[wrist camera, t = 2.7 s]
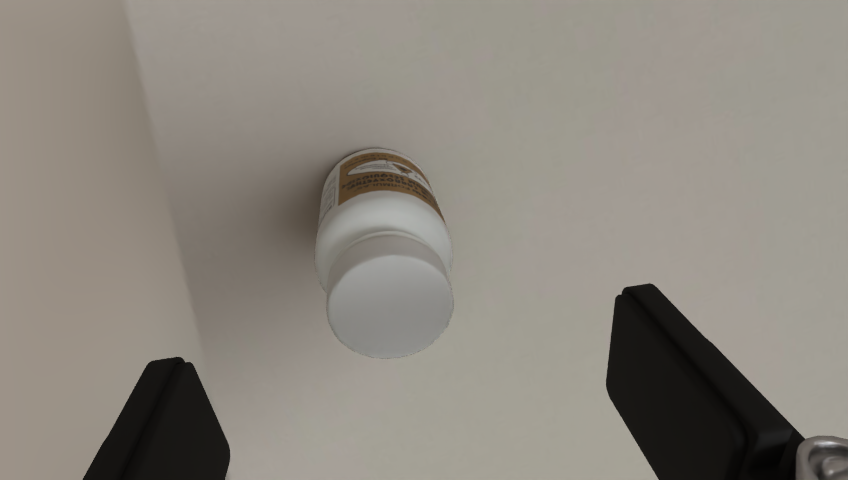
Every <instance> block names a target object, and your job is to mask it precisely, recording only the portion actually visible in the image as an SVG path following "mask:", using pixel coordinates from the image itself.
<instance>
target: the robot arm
mask: <svg viewBox="0 0 848 480" xmlns="http://www.w3.org/2000/svg"><path fill="white" fill-rule="evenodd" d="M606 387H607V391H608V394H609V397H610V399H611V401H612V402H613V404H614V406H615V407H616V409H617V411H618V412H619V414H620V416H621V417H622V419H623V421H624V422H625V424H626V426H627V427H628V429H629V431H630V432H631V434H632V436H633V437H634V439H635V441H636V442H637V444H638V446H639V447H640V449H641V451H642V452H643V454H644V456H645V457H646V459H647V461H648V462H649V464H650V466H651V467H652V469H653V471H654V472H655V474H656V476H657V477H658V479H659V480H848V440H847V439H843V438H839V437H834V436H815V437H811V438H807V439H805V438H804V437H803V436H802V435H801V434H800V433H799V432H798V431H797V430H796V429H795V428H794V427H793V426H792V425H791V424H790V423H789V422H788V421H787V420H786V419H785V418H784V417H783V416H782V415H781V414H780V413H779V412H778V411H777V410H776V409H775V407H774V406H773V405H772V404H771V403H770V402H769V401H768V400H767V399H766V398H765V397H764V396H763V395H762V394H761V393H760V392H759V391H758V390H757V389H756V388H755V387H754V386H753V385H752V384H751V383H750V382H749V381H748V380H747V379H746V378H745V377H744V376H743V374H742V373H741V372H740V371H739V370H738V369H737V368H736V367H735V366H734V365H733V364H732V363H731V362H730V361H729V360H728V359H727V358H726V357H725V356H724V355H723V354H722V353H721V352H720V351H719V350H718V349H717V348H716V347H715V346H714V345H713V344H712V343H711V342H710V341H709V340H708V339H706V338H705V337H704V336H703V335H702V334H701V333H700V332H699V331H698V330H697V329H696V328H695V327H694V326H693V325H692V324H691V323H690V322H689V320H688V319H687V318H686V317H685V316H684V315H683V314H682V313H681V312H680V311H679V310H678V309H677V308H676V307H675V306H674V305H673V304H672V303H671V302H670V301H669V300H668V299H667V298H666V297H665V296H664V295H663V294H662V292H661V291H660V290H659V289H658V288H657V287H656V286H654V285H653V284H643V285H637V286H631V287H626V288H624V289H623V291H622V295H618V296H617V297H616V299H615V306H614V315H613V324H612V333H611V342H610V351H609V360H608V369H607V378H606ZM229 461H230V448H229V444H228V442H227V440H226V437H225V435H224V433H223V431H222V428H221V426H220V424H219V422H218V419H217V417H216V415H215V413H214V410H213V408H212V406H211V404H210V401H209V399H208V397H207V395H206V392H205V390H204V388H203V386H202V383H201V381H200V379H199V377H198V374H197V372H196V370H195V368H194V366H193V364H192V363H191V362H186V363H185V361H184V360H183V359H182V358H181V357H174V358H167V359H161V360H155V361H151V362H150V363H148V365H147V366H146V368H145V370H144V371H143V373H142V375H141V377H140V379H139V380H138V382H137V384H136V386H135V388H134V389H133V391H132V393H131V395H130V397H129V399H128V401H127V402H126V404H125V406H124V408H123V410H122V412H121V413H120V415H119V417H118V419H117V421H116V423H115V424H114V426H113V428H112V430H111V431H110V433H109V435H108V437H107V438H106V439H105V441H104V442H103V444H102V445H101V447H100V449H99V451H98V453H97V455H96V456H95V458H94V460H93V462H92V464H91V465H90V467H89V469H88V471H87V473H86V475H85V476H84V478H83V480H225V477H226V473H227V469H228V466H229Z"/></svg>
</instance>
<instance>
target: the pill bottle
mask: <svg viewBox="0 0 848 480" xmlns="http://www.w3.org/2000/svg"><path fill="white" fill-rule="evenodd" d="M452 258H453V253H452V243H451V238H450V235H449V231H448V229H447V226H446V224H445V221H444V218H443V216H442V214H441V212H440V209H439V207H438V204H437V202H436V199H435V196H434V194H433V192H432V189H431V187H430V184H429V182H428V180H427V177H426V175H425V174H424V172H423V171H422V169H421V168H420V167H419V166H418V165H417V164H416V163H415V162H414V161H413V160H411V159H410V158H408V157H406V156H405V155H403V154H401V153H398V152H395V151H392V150H387V149H366V150H362V151H359V152H356V153H354V154H352V155H350V156H348V157H346V158H345V159H343V160H342V161H341V162H339V163H338V164H337V165H336V166H335V167H334V169H333V170H332V171H331V173H330V174H329V176H328V178H327V180H326V182H325V185H324V188H323V192H322V198H321V206H320V214H319V222H318V231H317V238H316V245H315V267H316V272H317V276H318V279H319V281H320V284H321V286H322V287H323V289H324V290H325V292H326V293H327V316H328V321H329V324H330V326H331V329H332V331H333V332H334V334H335V335H336V337H337V338H338V339H339V340H340V341H341V342H342V343H343V344H344V345H345V346H347V347H348V348H350V349H351V350H353V351H355V352H357V353H359V354H362V355H365V356H369V357H372V358H381V359H390V358H399V357H404V356H407V355H412V354H414V353H416V352H419V351H421V350H423V349H425V348H426V347H428V346H429V345H431V344H432V343H433V342H434V341H435V340H437V339H438V338H439V337H440V335H441V334H442V333H443V332H444V330H445V329H446V328H447V326H448V324H449V322H450V319H451V316H452V313H453V307H454V301H453V293H452V288H451V285H450V281H449V278H448V276H449V273H450V270H451V266H452Z"/></svg>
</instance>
